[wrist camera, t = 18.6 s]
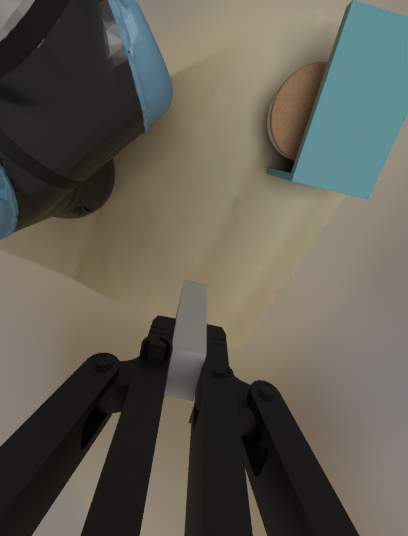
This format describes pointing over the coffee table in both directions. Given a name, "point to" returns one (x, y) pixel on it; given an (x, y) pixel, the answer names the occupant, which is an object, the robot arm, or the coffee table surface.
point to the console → (356, 104)
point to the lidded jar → (294, 109)
